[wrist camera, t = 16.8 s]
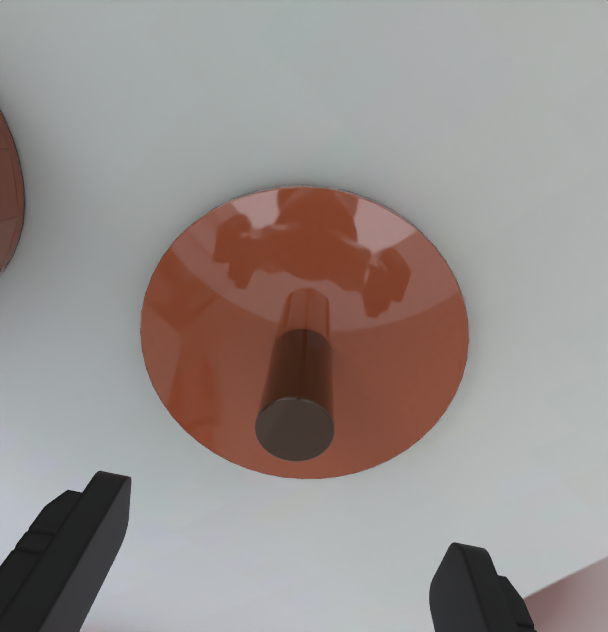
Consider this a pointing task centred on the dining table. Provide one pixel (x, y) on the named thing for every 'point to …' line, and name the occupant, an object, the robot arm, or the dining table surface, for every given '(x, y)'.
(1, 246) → the pot
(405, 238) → the lid
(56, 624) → the robot arm
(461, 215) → the dining table surface
